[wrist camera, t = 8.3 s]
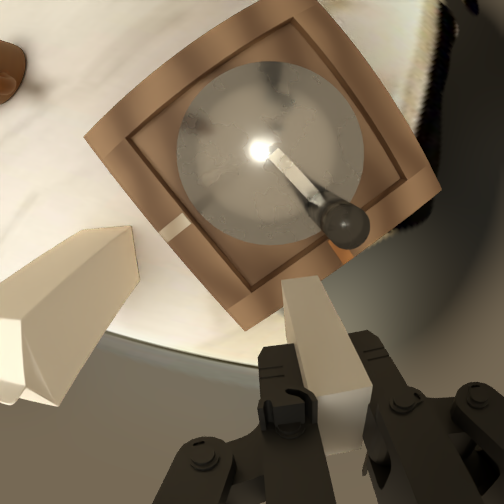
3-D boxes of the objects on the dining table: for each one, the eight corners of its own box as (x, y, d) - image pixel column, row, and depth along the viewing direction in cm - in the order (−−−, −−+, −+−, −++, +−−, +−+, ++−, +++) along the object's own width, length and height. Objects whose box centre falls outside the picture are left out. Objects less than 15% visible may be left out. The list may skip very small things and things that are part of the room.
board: (293, -6, 23) (298, -20, 20) (426, 185, 30) (443, 190, 26) (96, 137, 27) (82, 136, 24) (244, 316, 34) (245, 332, 31)
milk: (81, 229, 30) (-74, 336, 9) (132, 225, 30) (-16, 351, 9) (92, 282, 32) (-29, 420, 11) (141, 281, 32) (38, 445, 11)
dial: (143, 154, 26) (106, 159, 19) (272, 32, 23) (283, -7, 15) (268, 274, 30) (276, 319, 22) (391, 160, 27) (438, 168, 19)
